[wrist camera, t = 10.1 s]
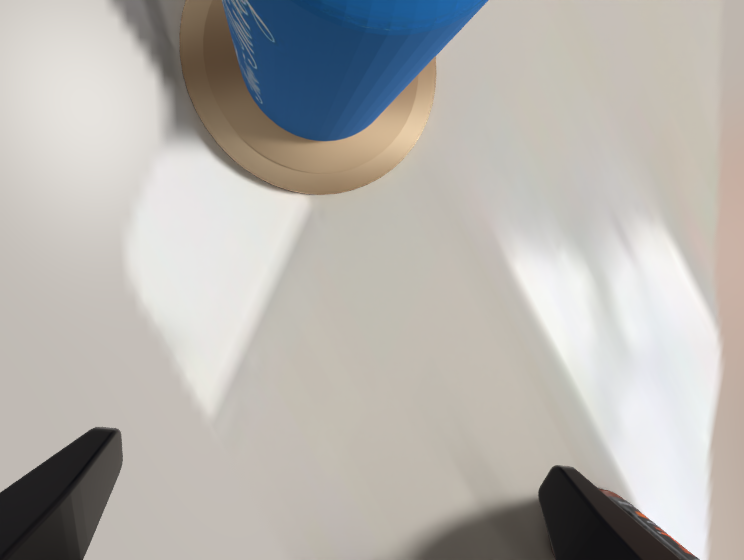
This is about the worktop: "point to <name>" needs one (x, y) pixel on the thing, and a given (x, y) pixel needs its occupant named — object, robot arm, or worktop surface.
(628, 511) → the supplement bottle
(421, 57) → the beverage can
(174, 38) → the worktop surface
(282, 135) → the coaster
